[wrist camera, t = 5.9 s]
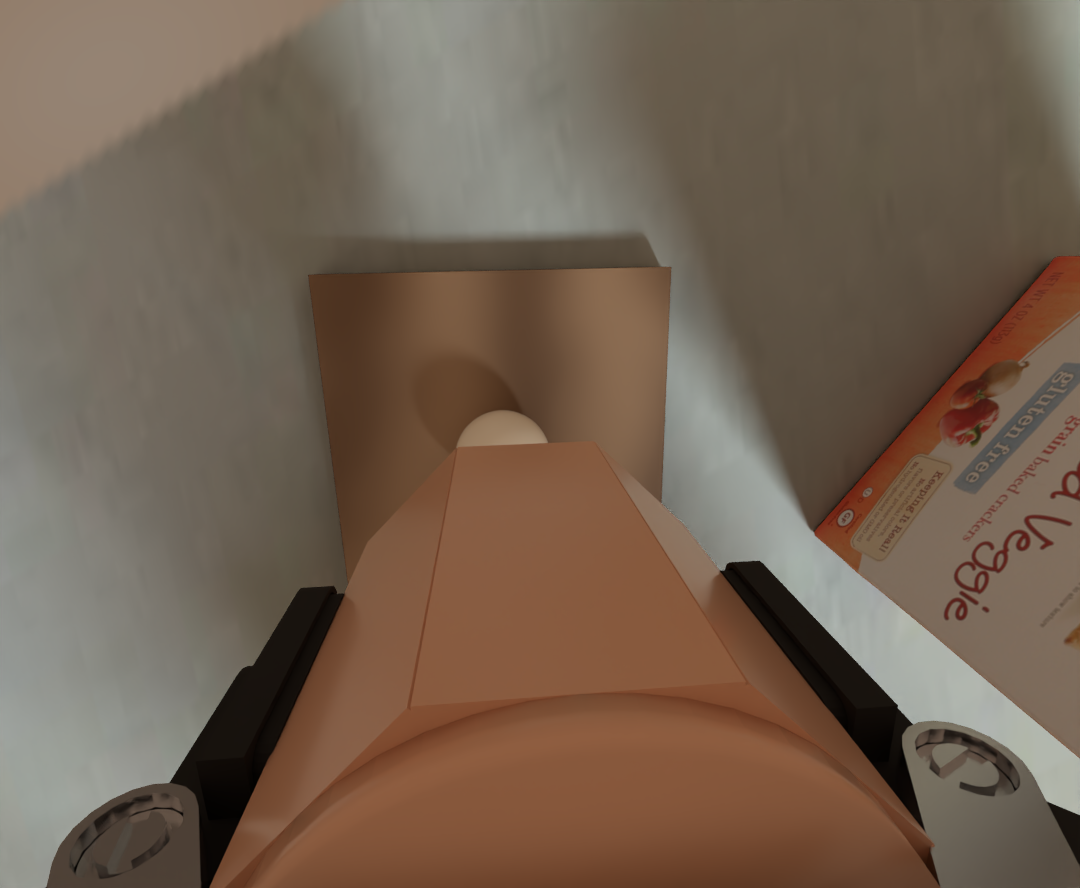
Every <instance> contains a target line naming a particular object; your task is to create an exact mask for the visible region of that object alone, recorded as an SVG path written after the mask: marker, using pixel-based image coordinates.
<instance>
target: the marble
mask: <svg viewBox="0 0 1080 888" xmlns="http://www.w3.org/2000/svg"><path fill="white" fill-rule="evenodd" d="M537 443H548V441H547V438H546V436H545V435H544V433H543V431H542V430H541V429H540V427H539V426H538V425H537V424H536V423H535V422H534V421H533V420H531V419H530V418H528V417H527V416H525V415H523V414H520V413H518V412H514V411H509V410H497V411H491V412H488V413H485V414H483V415H481V416H479V417H477V418H476V419H474V420H473V421H472V422H471V423H470V424H469V425H468V426H467V427H466V428H465V429H464V430H463V432H462V434H461V435H460V438H459V440H458V442H457V446H456V448H458V447H468V446H491V445H514V444H537Z"/></svg>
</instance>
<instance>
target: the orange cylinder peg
mask: <svg viewBox="0 0 1080 888" xmlns="http://www.w3.org/2000/svg"><path fill="white" fill-rule="evenodd" d="M344 594H345V595H344V597H343V599H342V601H341V604H340V606H339V608H338V610H337V612H336V615H335V617H334V619H333V621H332V623H331V626H330V628H329V630H328V632H327V634H326V637H325V639H324V641H323V643H322V645H321V648H320V650H319V652H318V654H317V656H316V659H315V661H314V663H313V665H312V667H311V670H310V672H309V674H308V676H307V678H306V681H305V683H304V685H303V687H302V689H301V692H300V694H299V696H298V698H297V700H296V703H295V705H294V707H293V709H292V711H291V714H290V716H289V718H288V720H287V722H286V725H285V727H284V729H283V731H282V733H281V736H280V738H279V740H278V742H277V744H276V747H275V749H274V751H273V753H272V754H271V755H270V757H269V758H268V761H267V763H266V765H265V767H264V769H263V772H262V774H261V776H260V778H259V780H258V782H257V785H256V787H255V789H254V791H253V793H252V796H251V798H250V800H249V802H248V804H247V806H246V809H245V811H244V813H243V815H242V817H241V820H240V822H239V824H238V826H237V828H236V830H235V833H234V835H233V837H232V839H231V841H230V844H229V846H228V848H227V850H226V852H225V854H224V857H223V859H222V861H221V863H220V865H219V868H218V870H217V872H216V874H215V876H214V879H213V881H212V883H211V885H210V887H209V888H941V887H940V886H939V884H938V883H937V882H936V880H935V879H934V877H933V876H932V874H931V873H930V871H929V870H928V868H927V867H926V863H927V858H928V853H929V848H930V847H935V845H934V843H933V841H932V840H931V839H930V838H929V836H928V835H927V834H926V833H925V831H924V830H923V829H922V827H921V826H920V825H919V824H918V822H917V821H916V820H915V819H914V817H913V816H912V815H911V813H910V812H909V811H908V810H907V808H906V807H905V806H904V804H903V803H902V802H901V801H900V799H899V798H898V797H897V796H896V794H895V793H894V792H893V790H892V789H891V788H890V787H889V785H888V784H887V783H886V782H885V780H884V779H883V778H882V776H881V775H880V774H879V773H878V771H877V770H876V769H875V768H874V766H873V765H872V764H871V762H870V761H869V760H868V759H867V757H866V756H865V755H864V754H863V752H862V751H861V750H860V748H859V747H858V746H857V745H856V743H855V742H854V741H853V739H852V738H851V737H850V736H849V734H848V733H847V732H846V731H845V729H844V728H843V727H842V725H841V724H840V723H839V722H838V720H837V719H836V718H835V717H834V715H833V714H832V713H831V712H830V711H829V710H828V708H827V707H826V706H825V705H824V704H823V702H822V701H821V700H820V698H819V697H818V696H817V695H816V693H815V692H814V691H813V690H812V688H811V687H810V686H809V684H808V683H807V682H806V681H805V679H804V678H803V677H802V675H801V674H800V673H799V672H798V670H797V669H796V668H795V667H794V665H793V664H792V663H791V661H790V660H789V659H788V658H787V656H786V655H785V654H784V652H783V651H782V650H781V649H780V647H779V646H778V645H777V644H776V642H775V641H774V640H773V638H772V637H771V636H770V635H769V633H768V632H767V631H766V629H765V628H764V627H763V626H762V624H761V623H760V622H759V621H758V619H757V618H756V617H755V615H754V614H753V613H752V612H751V610H750V609H749V608H748V606H747V605H746V604H745V603H744V601H743V600H742V599H741V597H740V596H739V595H738V594H737V592H736V591H735V590H734V589H733V587H732V586H731V585H730V583H729V582H728V581H727V580H726V578H725V577H724V576H723V574H722V573H721V572H720V570H719V569H718V567H717V566H716V565H715V564H714V562H713V561H712V560H711V558H710V557H709V556H708V555H707V553H706V552H705V551H704V550H703V548H702V547H701V546H700V544H699V543H698V542H697V541H696V539H695V538H694V537H693V536H692V534H691V533H690V532H689V530H688V529H687V528H686V527H685V525H684V524H683V523H682V522H681V521H680V520H678V519H677V518H676V517H675V516H674V515H673V514H672V513H671V512H670V511H669V510H668V509H667V508H666V507H665V506H663V505H662V504H661V503H660V502H659V501H658V500H657V499H656V498H655V497H654V496H653V495H652V494H651V493H649V492H648V491H647V490H646V489H645V488H644V487H643V486H642V485H641V484H640V483H639V482H638V481H637V480H636V479H634V478H633V477H632V476H631V475H630V474H629V473H628V472H627V471H626V470H625V469H624V468H623V467H622V466H621V465H619V464H618V463H617V462H616V461H615V460H614V459H613V458H612V457H611V456H610V455H609V454H608V453H607V452H606V451H604V450H603V449H602V448H601V447H600V446H599V445H598V444H597V443H596V442H594V441H583V442H560V443H537V444H514V445H491V446H468V447H458V448H456V449H455V450H454V451H453V452H452V453H451V454H450V455H449V456H448V457H447V458H446V459H445V460H444V461H443V462H442V464H441V465H440V466H439V467H438V468H437V469H436V470H435V471H434V472H433V473H432V474H431V475H430V476H429V477H428V478H427V479H426V480H425V482H424V483H423V484H422V485H421V486H420V487H419V488H418V489H417V490H416V491H415V492H414V493H413V494H412V495H411V496H410V497H409V499H408V500H407V501H406V502H405V503H404V504H403V505H402V506H401V507H400V508H399V509H398V510H397V511H396V512H395V513H394V514H393V515H392V517H391V518H390V519H389V520H388V521H387V522H386V523H385V524H384V525H383V526H382V527H381V528H380V529H379V530H378V531H377V532H376V534H375V535H374V536H373V537H372V538H371V539H370V540H369V541H368V542H367V544H366V547H365V549H364V551H363V553H362V555H361V558H360V560H359V562H358V564H357V566H356V568H355V571H354V573H353V575H352V577H351V579H350V582H349V584H348V586H347V588H346V590H345V592H344Z"/></svg>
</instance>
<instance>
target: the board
mask: <svg viewBox="0 0 1080 888" xmlns="http://www.w3.org/2000/svg"><path fill="white" fill-rule="evenodd" d="M308 277H309V285H310V293H311V300H312V308H313V316H314V324H315V331H316V339H317V347H318V355H319V363H320V370H321V378H322V386H323V394H324V402H325V409H326V417H327V425H328V433H329V440H330V448H331V456H332V464H333V472H334V479H335V487H336V495H337V503H338V511H339V518H340V526H341V534H342V542H343V549H344V557H345V565H346V573H347V581H348V584H349V582H350V579H351V577H352V575H353V573H354V571H355V568H356V566H357V564H358V562H359V560H360V558H361V555H362V553H363V551H364V549H365V547H366V544H367V542H368V541H369V540H370V539H371V538H372V537H373V536H374V535H375V534H376V532H377V531H378V530H379V529H380V528H381V527H382V526H383V525H384V524H385V523H386V522H387V521H388V520H389V519H390V518H391V517H392V515H393V514H394V513H395V512H396V511H397V510H398V509H399V508H400V507H401V506H402V505H403V504H404V503H405V502H406V501H407V500H408V499H409V497H410V496H411V495H412V494H413V493H414V492H415V491H416V490H417V489H418V488H419V487H420V486H421V485H422V484H423V483H424V482H425V480H426V479H427V478H428V477H429V476H430V475H431V474H432V473H433V472H434V471H435V470H436V469H437V468H438V467H439V466H440V465H441V464H442V462H443V461H444V460H445V459H446V458H447V457H448V456H449V455H450V454H451V453H452V452H453V451H454V450H455V449H456V446H457V442H458V440H459V438H460V435H461V434H462V432H463V430H464V429H465V428H466V427H467V426H468V425H469V424H470V423H471V422H472V421H473V420H474V419H476V418H477V417H479V416H481V415H483V414H485V413H488V412H491V411H497V410H509V411H514V412H518V413H520V414H523V415H525V416H527V417H528V418H530V419H531V420H533V421H534V422H535V423H536V424H537V425H538V426H539V427H540V429H541V430H542V431H543V433H544V435H545V436H546V438H547V441H548V443H560V442H583V441H594V442H596V443H597V444H598V445H599V446H600V447H601V448H602V449H603V450H604V451H606V452H607V453H608V454H609V455H610V456H611V457H612V458H613V459H614V460H615V461H616V462H617V463H618V464H619V465H621V466H622V467H623V468H624V469H625V470H626V471H627V472H628V473H629V474H630V475H631V476H632V477H633V478H634V479H636V480H637V481H638V482H639V483H640V484H641V485H642V486H643V487H644V488H645V489H646V490H647V491H648V492H649V493H651V494H652V495H653V496H654V497H655V498H656V499H657V500H658V501H659V502H660V503H661V497H662V473H663V450H664V426H665V402H666V379H667V355H668V331H669V308H670V284H671V267H628V268H583V269H537V270H492V271H447V272H401V273H356V274H316V275H308Z"/></svg>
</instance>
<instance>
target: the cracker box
mask: <svg viewBox="0 0 1080 888" xmlns="http://www.w3.org/2000/svg"><path fill="white" fill-rule="evenodd" d="M814 534H815V536H816V537H817V538H819V539H820V540H821V541H822V542H823V543H824V544H826V545H827V546H828V547H829V548H830V549H831V550H833V551H834V552H835V553H836V554H837V555H838V556H839V557H841V558H842V559H843V560H844V561H845V562H846V563H847V564H848V565H849V566H850V567H852V568H853V569H854V570H855V571H856V572H857V573H858V574H860V575H861V576H862V577H863V578H865V579H866V580H867V581H868V582H870V583H871V584H872V585H873V586H875V587H876V588H877V589H878V590H880V591H881V592H882V593H883V594H885V595H886V596H887V597H888V598H890V599H891V600H892V601H893V602H894V603H896V604H897V605H898V606H899V607H900V608H902V609H903V610H904V611H905V612H906V613H908V614H909V615H910V616H911V617H912V618H914V619H915V620H916V621H917V622H918V623H919V624H921V625H922V626H923V627H924V628H925V629H927V630H928V631H929V632H930V633H931V634H933V635H934V636H935V637H936V638H937V639H939V640H940V641H941V642H942V643H943V644H944V645H946V646H947V647H948V648H949V649H950V650H952V651H953V652H954V653H955V654H956V655H957V656H959V657H960V658H961V659H962V660H963V661H964V662H966V663H967V664H968V665H969V666H970V667H972V668H973V669H974V670H975V671H976V672H977V673H979V674H980V675H981V676H982V677H983V678H985V679H986V680H987V681H988V682H989V683H990V684H992V685H993V686H994V687H995V688H996V689H998V690H999V691H1000V692H1001V693H1002V694H1004V695H1005V696H1006V697H1007V698H1008V699H1010V700H1011V701H1012V702H1013V703H1014V704H1016V705H1017V706H1018V707H1019V708H1020V709H1021V710H1023V711H1024V712H1025V713H1026V714H1027V715H1029V716H1030V717H1031V718H1032V719H1033V720H1035V721H1036V722H1037V723H1038V724H1039V725H1041V726H1042V727H1043V728H1044V729H1045V730H1046V731H1048V732H1049V733H1050V734H1051V735H1052V736H1054V737H1055V738H1056V739H1057V740H1058V741H1060V742H1061V743H1062V744H1063V745H1064V746H1066V747H1067V748H1068V749H1069V750H1070V751H1072V752H1073V753H1074V754H1075V755H1076V756H1077V757H1079V758H1080V256H1059V257H1055V258H1054V259H1053V260H1052V261H1051V263H1050V264H1049V266H1048V267H1047V268H1046V269H1045V270H1044V271H1043V272H1042V274H1041V275H1040V276H1039V277H1038V279H1037V280H1036V281H1035V282H1034V283H1033V284H1032V285H1031V287H1030V288H1029V289H1028V290H1027V291H1026V292H1025V293H1024V295H1023V296H1022V297H1021V298H1020V299H1019V300H1018V301H1017V302H1016V304H1015V305H1014V306H1013V307H1012V308H1011V309H1010V310H1009V312H1008V313H1007V314H1006V315H1005V316H1004V317H1003V318H1002V319H1001V320H1000V322H999V323H998V324H997V325H996V326H995V327H994V328H993V330H992V331H991V332H990V333H989V334H988V335H987V337H986V338H985V339H984V340H983V341H982V342H981V343H980V345H979V346H978V347H977V348H976V349H975V350H974V351H973V352H972V353H971V355H970V356H969V357H968V358H967V359H966V360H965V361H964V363H963V364H962V365H961V366H960V367H959V368H958V370H957V371H956V372H955V373H954V374H953V375H952V376H951V377H950V378H949V379H948V381H947V382H946V383H945V384H944V385H943V386H942V387H941V389H940V390H939V391H938V392H937V393H936V394H935V395H934V396H933V397H932V399H931V400H930V401H929V402H928V403H927V404H926V406H925V407H924V408H923V409H922V410H921V411H920V413H919V414H918V415H917V416H916V417H915V418H914V419H913V420H912V421H911V422H910V424H909V425H908V426H907V427H906V428H905V429H904V431H903V432H902V433H901V434H900V435H899V436H898V437H897V439H896V440H895V441H894V442H893V443H892V444H891V445H890V446H889V447H888V449H887V450H886V451H885V452H884V453H883V454H882V455H881V456H880V457H879V459H878V460H877V461H876V462H875V463H874V464H873V466H872V467H871V468H870V469H869V470H868V471H867V472H866V474H865V475H864V476H863V477H862V478H861V479H860V480H859V481H858V482H857V483H856V485H855V486H854V487H853V488H852V490H851V491H850V492H849V493H848V494H847V495H846V496H845V497H844V498H843V499H842V501H841V502H840V503H839V504H838V505H837V506H836V507H835V509H834V510H833V511H832V512H831V513H830V514H829V515H828V516H827V517H826V519H825V520H824V521H823V522H822V523H821V524H820V525H819V526H818V528H817V529H816V530H815V531H814Z"/></svg>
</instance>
